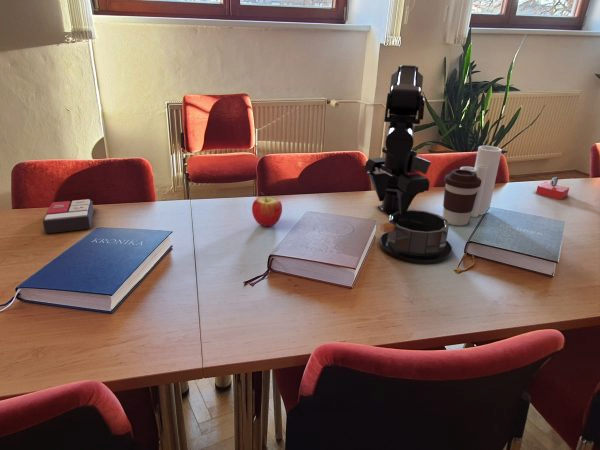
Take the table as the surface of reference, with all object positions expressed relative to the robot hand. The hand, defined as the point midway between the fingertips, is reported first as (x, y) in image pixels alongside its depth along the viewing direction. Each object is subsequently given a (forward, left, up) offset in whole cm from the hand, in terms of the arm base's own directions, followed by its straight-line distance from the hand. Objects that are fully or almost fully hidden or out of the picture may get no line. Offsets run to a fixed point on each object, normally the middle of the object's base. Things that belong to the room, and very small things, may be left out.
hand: (391, 207), depth 109 cm
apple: (-25, -24, -12) cm, 37 cm away
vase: (-12, +39, -12) cm, 43 cm away
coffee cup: (-8, +29, -12) cm, 33 cm away
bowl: (+1, +6, -10) cm, 12 cm away
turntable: (+2, +7, -12) cm, 14 cm away
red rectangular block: (-15, +78, -12) cm, 81 cm away
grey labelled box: (-46, -75, -12) cm, 89 cm away
